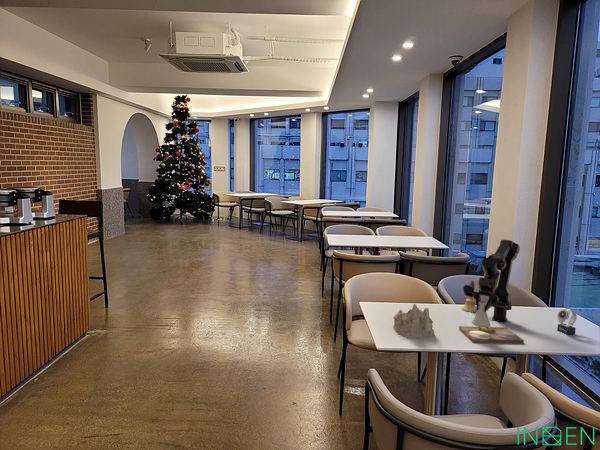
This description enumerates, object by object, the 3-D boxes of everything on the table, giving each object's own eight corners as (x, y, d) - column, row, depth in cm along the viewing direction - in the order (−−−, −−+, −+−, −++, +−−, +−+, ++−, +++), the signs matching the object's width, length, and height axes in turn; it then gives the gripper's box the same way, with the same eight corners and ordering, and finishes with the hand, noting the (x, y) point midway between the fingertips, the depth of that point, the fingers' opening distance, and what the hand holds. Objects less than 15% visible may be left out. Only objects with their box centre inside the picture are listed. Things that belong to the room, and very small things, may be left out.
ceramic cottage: (439, 337, 184) (439, 303, 183) (404, 340, 180) (404, 306, 179) (421, 326, 199) (420, 295, 198) (389, 329, 195) (388, 298, 194)
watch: (553, 330, 196) (556, 308, 194) (568, 329, 198) (570, 307, 196) (563, 335, 190) (566, 311, 189) (578, 334, 192) (581, 311, 191)
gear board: (458, 329, 194) (459, 321, 193) (506, 330, 194) (506, 322, 194) (472, 342, 179) (473, 334, 179) (523, 343, 179) (524, 335, 179)
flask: (493, 326, 181) (495, 304, 180) (480, 328, 178) (482, 305, 177) (481, 321, 188) (483, 299, 186) (468, 322, 185) (469, 300, 184)
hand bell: (475, 308, 227) (478, 279, 225) (479, 313, 219) (482, 283, 217) (459, 306, 228) (461, 278, 226) (463, 311, 220) (465, 282, 218)
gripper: (465, 267, 189) (455, 296, 182) (511, 274, 177) (501, 305, 170) (470, 280, 196) (460, 309, 189) (513, 288, 184) (505, 319, 177)
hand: (481, 310), depth 181 cm, fingers closed on flask, 3 cm apart
